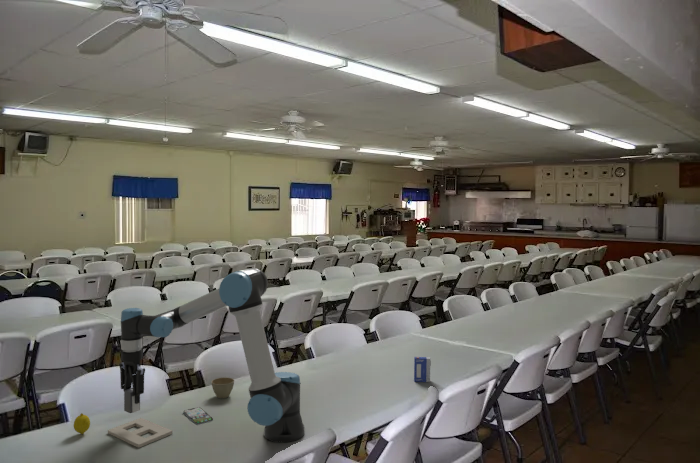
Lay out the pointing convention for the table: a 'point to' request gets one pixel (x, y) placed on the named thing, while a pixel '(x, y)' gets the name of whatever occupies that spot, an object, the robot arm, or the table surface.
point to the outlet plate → (139, 432)
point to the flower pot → (222, 386)
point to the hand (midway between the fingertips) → (132, 409)
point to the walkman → (422, 369)
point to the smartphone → (198, 415)
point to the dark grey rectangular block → (128, 400)
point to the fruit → (82, 423)
